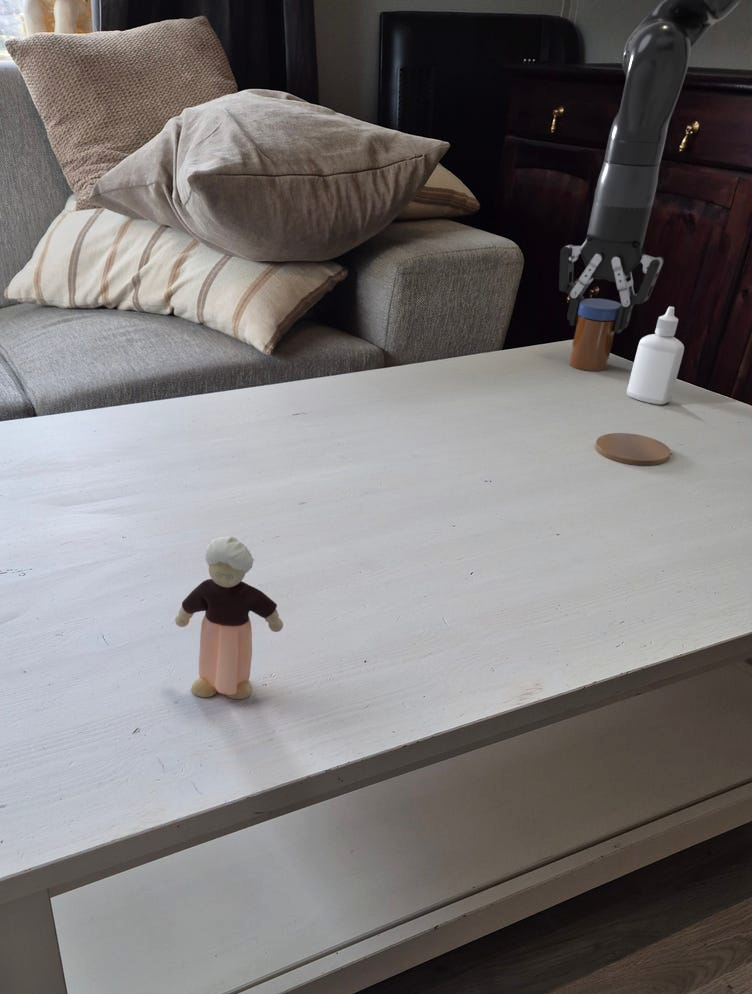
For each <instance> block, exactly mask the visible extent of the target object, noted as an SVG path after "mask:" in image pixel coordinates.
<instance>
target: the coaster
mask: <svg viewBox="0 0 752 994" xmlns="http://www.w3.org/2000/svg"><path fill="white" fill-rule="evenodd" d="M594 448H595V450H596V451H597V452H598V453H599V454H600V455H601V456H603V457H605V458H607V459H609V460H612V461H615V462H618V463H622V464H626V465H633V466H657V465H661V464H663V463H666V462H667V461H669V459H670V456H671V449H670V447H669V446H668V445H666V444H665V443H664V442H662V441H660V440H658V439H655V438H652V437H650V436H646V435H642V434H635V433H629V432H628V433H627V432H614V433H607V434H603V435H600V436H599V437H598V438H596V441H595V444H594Z"/></svg>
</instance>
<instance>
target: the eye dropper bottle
mask: <svg viewBox="0 0 752 994" xmlns="http://www.w3.org/2000/svg"><path fill="white" fill-rule="evenodd" d="M678 323H679V318H678V317H676V316H675V307H674V306H668V308H667V309H666V312H665V314H663V315H659V316H658V319H657V322H656V327H655V330H654V333H652V334H647V335H645V336H643V337H641V339H640V340H639V342H638V345H637V349H636V353H635V357H634V361H633V363H632V364H633V365H632V369H631V373H630V376H629V381H628V383H627V384H628V385H627V388H626V395H627V396H628V397H630V398H632V399H635V400H637V401H640V402H644V403H646V404H647V403H648V404H652V405H665V404H667V403H669V402H670V401H671V399H672V396H673V393H674V389H675V386H676V382H677V378H678V374H679V371H680V367H681V364H682V360H683V355H684V353H685V346H684V344H683V343H682V341H680V340H679V339H678V338H676V337H675V335H676V331H677V328H678Z"/></svg>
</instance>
